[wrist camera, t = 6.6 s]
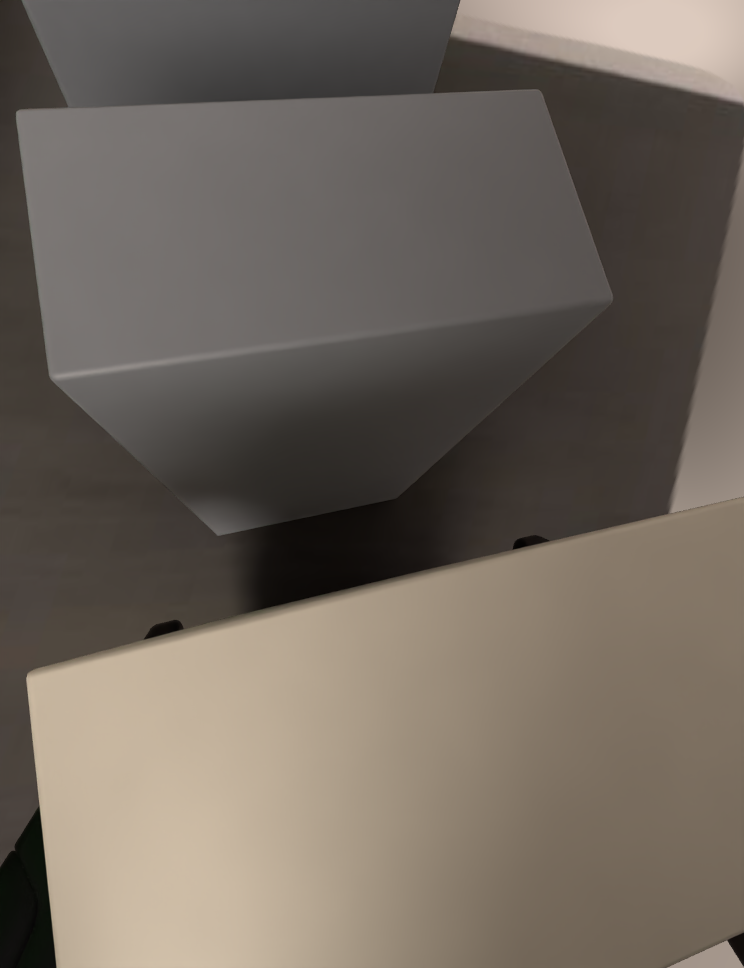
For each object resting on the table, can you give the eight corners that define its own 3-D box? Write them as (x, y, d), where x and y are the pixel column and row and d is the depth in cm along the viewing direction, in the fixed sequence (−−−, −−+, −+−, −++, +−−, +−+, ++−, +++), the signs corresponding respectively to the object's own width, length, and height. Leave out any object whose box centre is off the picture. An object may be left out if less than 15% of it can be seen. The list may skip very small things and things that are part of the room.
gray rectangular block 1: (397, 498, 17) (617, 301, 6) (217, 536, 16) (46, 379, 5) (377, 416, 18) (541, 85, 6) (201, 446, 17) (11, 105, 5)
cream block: (446, 668, 16) (910, 860, 4) (246, 725, 14) (80, 1241, 3) (422, 570, 16) (767, 491, 5) (227, 617, 15) (22, 672, 3)
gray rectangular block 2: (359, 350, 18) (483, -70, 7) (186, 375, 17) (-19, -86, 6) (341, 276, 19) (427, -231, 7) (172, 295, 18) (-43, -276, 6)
